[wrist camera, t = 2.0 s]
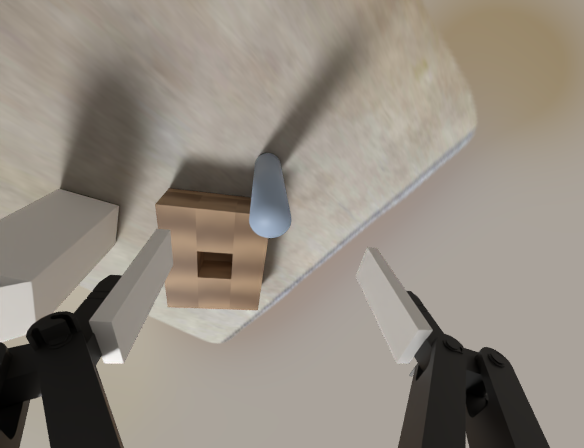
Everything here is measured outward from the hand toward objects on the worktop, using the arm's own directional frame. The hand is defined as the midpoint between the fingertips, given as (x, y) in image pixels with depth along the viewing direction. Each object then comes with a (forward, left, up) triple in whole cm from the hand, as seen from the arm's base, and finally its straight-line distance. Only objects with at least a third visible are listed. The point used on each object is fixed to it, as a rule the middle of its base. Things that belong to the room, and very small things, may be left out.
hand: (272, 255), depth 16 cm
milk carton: (+11, -24, -20) cm, 33 cm away
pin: (0, 0, -19) cm, 19 cm away
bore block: (+14, -6, -19) cm, 25 cm away
